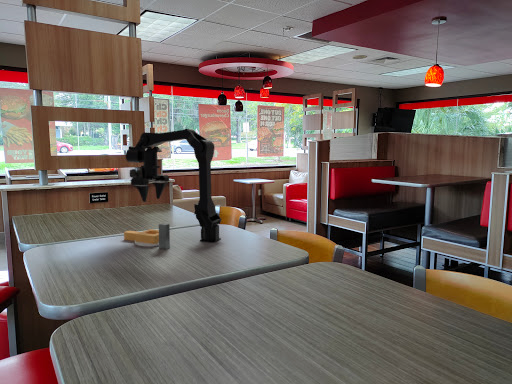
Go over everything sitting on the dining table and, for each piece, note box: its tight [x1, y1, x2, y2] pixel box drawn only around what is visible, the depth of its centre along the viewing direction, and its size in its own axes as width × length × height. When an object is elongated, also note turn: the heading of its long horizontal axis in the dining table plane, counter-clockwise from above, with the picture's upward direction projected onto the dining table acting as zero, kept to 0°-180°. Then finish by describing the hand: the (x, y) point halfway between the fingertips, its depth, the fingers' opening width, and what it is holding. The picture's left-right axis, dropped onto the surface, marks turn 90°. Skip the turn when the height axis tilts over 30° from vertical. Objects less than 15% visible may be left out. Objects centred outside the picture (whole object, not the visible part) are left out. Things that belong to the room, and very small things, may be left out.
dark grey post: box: [158, 222, 171, 250], centre depth 136 cm, size 3×2×9 cm
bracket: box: [123, 228, 159, 248], centre depth 146 cm, size 19×13×4 cm
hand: (151, 200), depth 157 cm, fingers open, 9 cm apart
